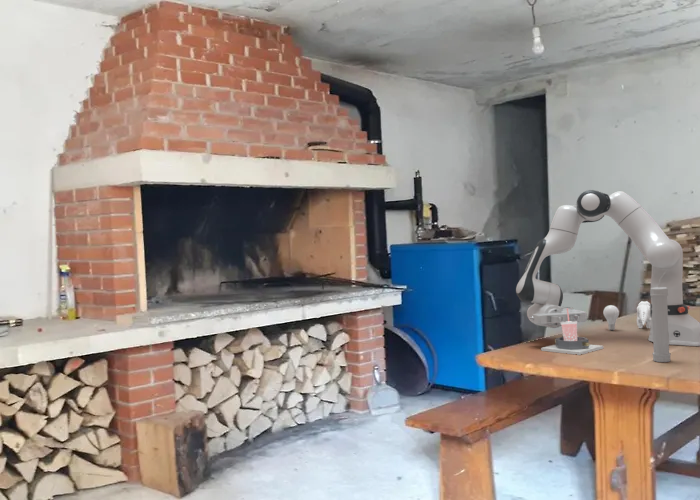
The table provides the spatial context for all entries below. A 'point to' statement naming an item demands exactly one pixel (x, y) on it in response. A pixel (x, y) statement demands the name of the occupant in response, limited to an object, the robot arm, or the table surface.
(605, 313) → the lightbulb
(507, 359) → the table surface
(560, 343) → the collar
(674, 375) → the table surface
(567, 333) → the beverage cup
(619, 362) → the table surface
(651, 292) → the pipe
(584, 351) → the base plate
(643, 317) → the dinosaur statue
